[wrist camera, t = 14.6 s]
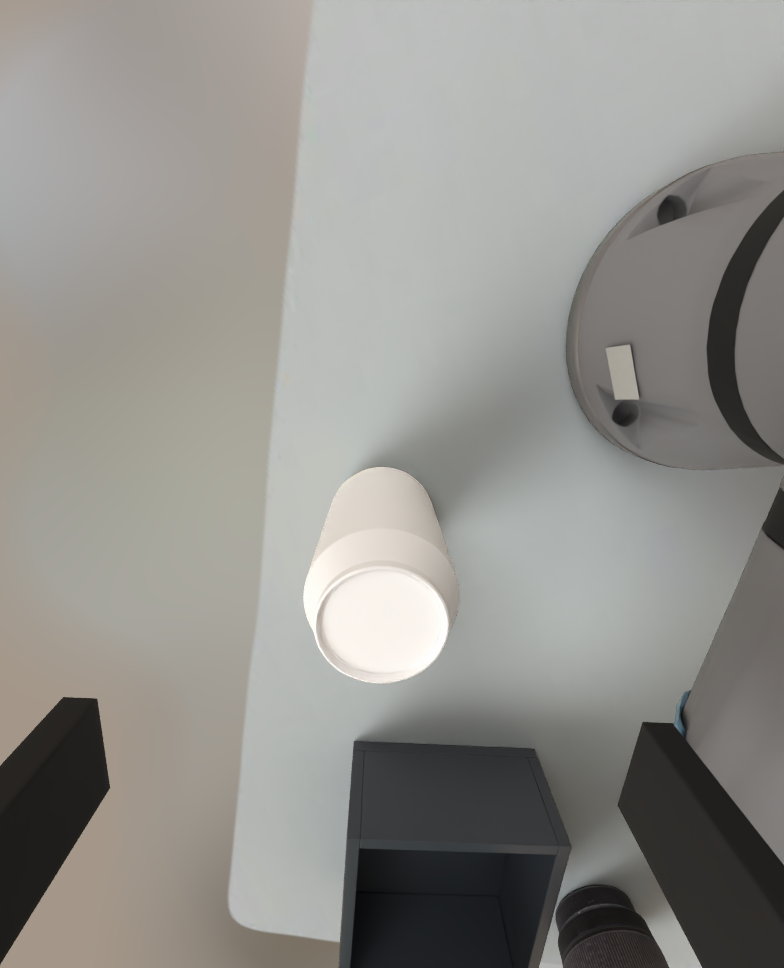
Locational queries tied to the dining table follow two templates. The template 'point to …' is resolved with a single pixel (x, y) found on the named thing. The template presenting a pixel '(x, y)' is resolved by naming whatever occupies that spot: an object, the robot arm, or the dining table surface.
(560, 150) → the dining table surface
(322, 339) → the dining table surface
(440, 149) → the dining table surface
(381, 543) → the beverage can
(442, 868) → the box
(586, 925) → the camera lens
